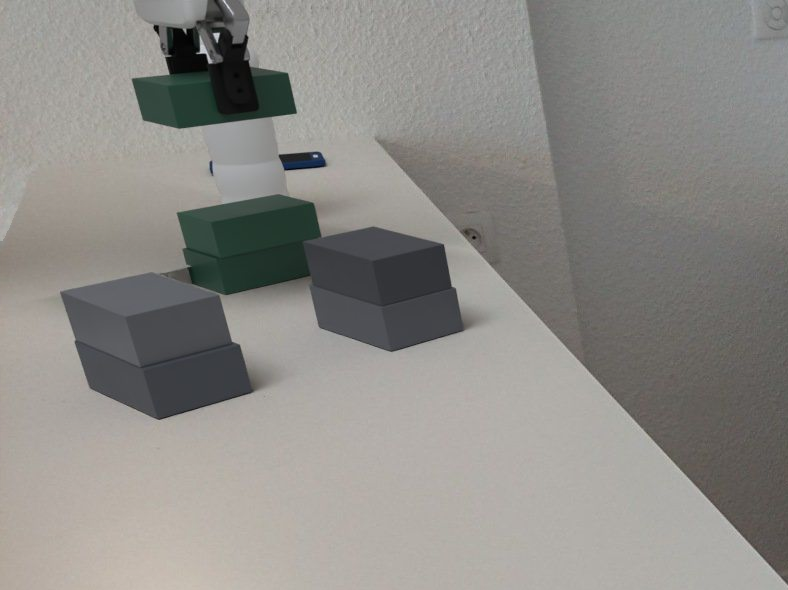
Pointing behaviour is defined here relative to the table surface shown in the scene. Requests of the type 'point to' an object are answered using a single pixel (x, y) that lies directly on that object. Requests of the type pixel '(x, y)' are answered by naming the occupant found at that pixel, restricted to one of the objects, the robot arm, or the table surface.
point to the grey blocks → (210, 330)
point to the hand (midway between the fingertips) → (218, 106)
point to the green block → (208, 98)
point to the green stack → (248, 242)
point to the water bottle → (244, 154)
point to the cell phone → (297, 160)
